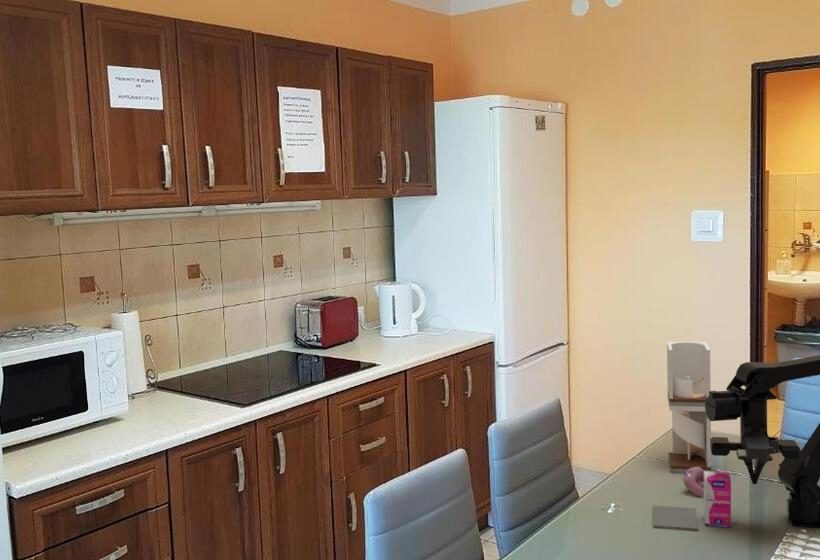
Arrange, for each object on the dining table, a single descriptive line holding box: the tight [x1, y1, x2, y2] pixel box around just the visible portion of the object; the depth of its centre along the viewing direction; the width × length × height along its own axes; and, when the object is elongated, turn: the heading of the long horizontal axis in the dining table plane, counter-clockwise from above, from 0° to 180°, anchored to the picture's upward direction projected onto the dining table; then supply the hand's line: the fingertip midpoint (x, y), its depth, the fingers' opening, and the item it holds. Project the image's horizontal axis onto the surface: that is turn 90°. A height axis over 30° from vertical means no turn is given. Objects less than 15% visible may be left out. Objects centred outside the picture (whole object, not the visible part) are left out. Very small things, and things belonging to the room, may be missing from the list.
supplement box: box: [703, 471, 732, 528], centre depth 182 cm, size 6×6×12 cm
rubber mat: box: [652, 505, 699, 532], centre depth 185 cm, size 10×12×1 cm
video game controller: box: [682, 467, 704, 498], centre depth 202 cm, size 10×5×7 cm, turn 141°
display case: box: [666, 341, 712, 474], centre depth 218 cm, size 11×11×35 cm
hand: (754, 483), depth 179 cm, fingers closed
